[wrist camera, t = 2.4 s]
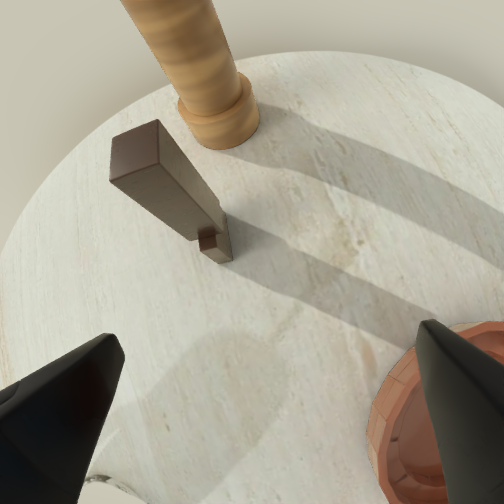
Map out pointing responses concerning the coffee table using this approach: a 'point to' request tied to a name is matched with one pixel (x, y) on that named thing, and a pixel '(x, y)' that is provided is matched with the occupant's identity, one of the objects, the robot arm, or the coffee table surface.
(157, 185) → the brown long block
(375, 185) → the coffee table surface
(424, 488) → the bowl
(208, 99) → the pepper mill
